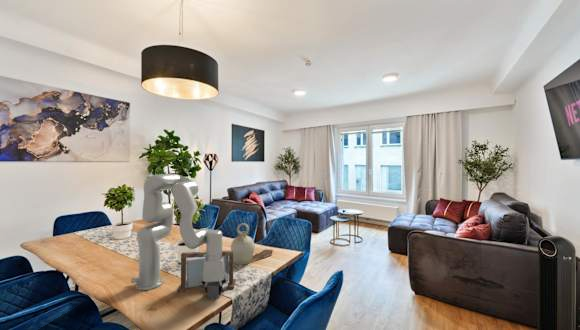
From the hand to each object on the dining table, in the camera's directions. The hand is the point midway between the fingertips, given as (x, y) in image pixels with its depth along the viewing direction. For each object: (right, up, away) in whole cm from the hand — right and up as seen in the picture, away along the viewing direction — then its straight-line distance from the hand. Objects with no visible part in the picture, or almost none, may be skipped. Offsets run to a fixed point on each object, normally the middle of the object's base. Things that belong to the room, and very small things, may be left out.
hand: (213, 293), depth 112 cm
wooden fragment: (+18, -2, +50) cm, 53 cm away
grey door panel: (-7, -1, +11) cm, 13 cm away
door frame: (-6, -1, +8) cm, 10 cm away
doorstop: (-1, -1, +4) cm, 4 cm away
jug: (+6, -1, +41) cm, 41 cm away
